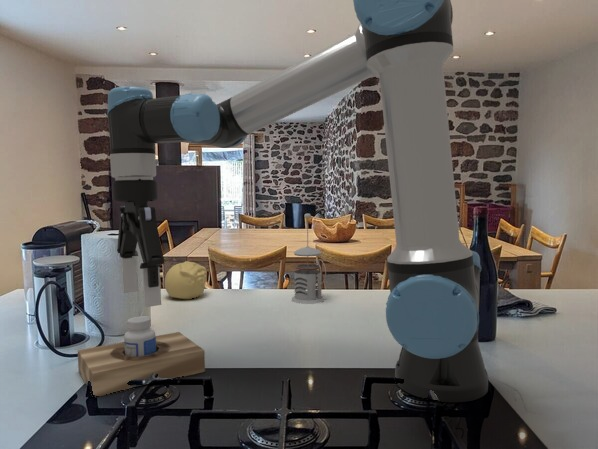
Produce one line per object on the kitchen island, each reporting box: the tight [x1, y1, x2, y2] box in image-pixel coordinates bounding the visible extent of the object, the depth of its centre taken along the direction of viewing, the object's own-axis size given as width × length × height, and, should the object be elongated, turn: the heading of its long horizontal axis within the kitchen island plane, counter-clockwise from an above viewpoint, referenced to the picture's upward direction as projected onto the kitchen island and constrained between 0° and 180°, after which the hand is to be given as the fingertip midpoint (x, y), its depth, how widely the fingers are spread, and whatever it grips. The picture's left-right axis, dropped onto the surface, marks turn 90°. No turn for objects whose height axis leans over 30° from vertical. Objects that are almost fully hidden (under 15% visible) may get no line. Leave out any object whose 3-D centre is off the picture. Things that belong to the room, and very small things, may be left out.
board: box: [77, 331, 206, 397], centre depth 89 cm, size 13×19×4 cm
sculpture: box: [164, 260, 208, 300], centre depth 145 cm, size 12×12×11 cm
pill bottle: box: [123, 315, 157, 356], centre depth 89 cm, size 6×5×10 cm
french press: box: [291, 213, 327, 305], centre depth 140 cm, size 10×12×25 cm
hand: (141, 298), depth 88 cm, fingers open, 13 cm apart
